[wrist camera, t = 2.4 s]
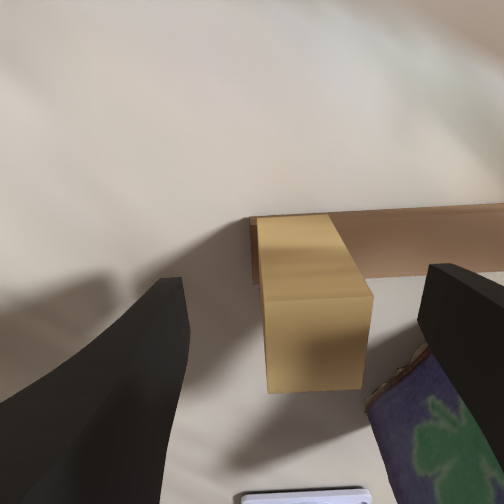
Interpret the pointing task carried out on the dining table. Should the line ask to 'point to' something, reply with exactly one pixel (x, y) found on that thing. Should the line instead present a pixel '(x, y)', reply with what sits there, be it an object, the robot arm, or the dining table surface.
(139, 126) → the dining table surface
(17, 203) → the dining table surface
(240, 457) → the dining table surface
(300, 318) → the wooden t-shaped handle
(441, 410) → the flask
